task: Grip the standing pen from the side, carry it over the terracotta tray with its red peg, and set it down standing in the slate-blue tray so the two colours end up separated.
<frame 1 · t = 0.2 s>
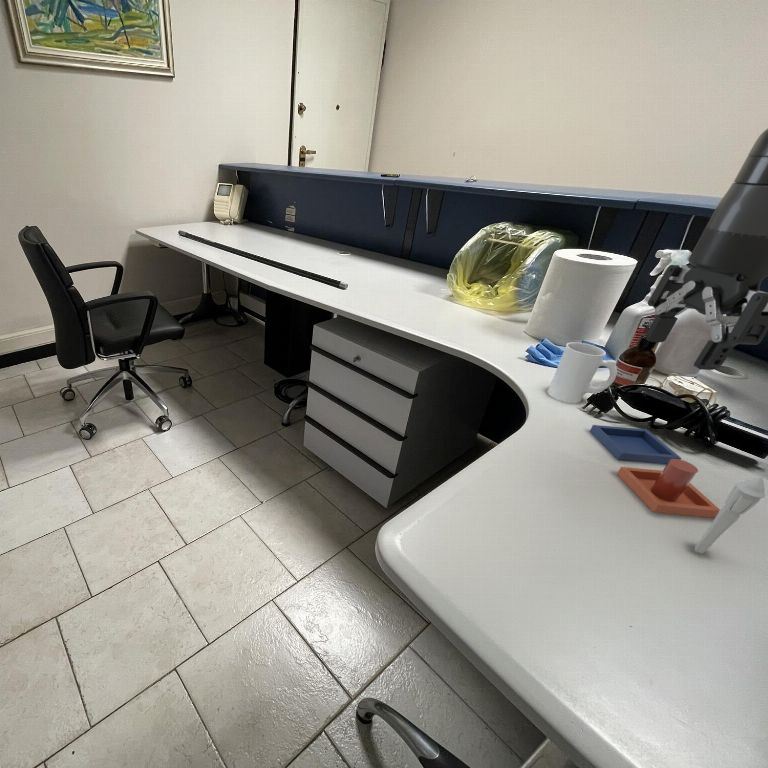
hand: (677, 353, 55), 24 cm above the table, tool pointing down, fingers open, 8 cm apart
terracotta tray: (661, 497, 65), on the table
mug: (571, 400, 91), on the table
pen: (696, 554, 56), on the table
blue tray: (629, 449, 75), on the table
red peg: (663, 494, 65), point 1 cm above the table, touching terracotta tray
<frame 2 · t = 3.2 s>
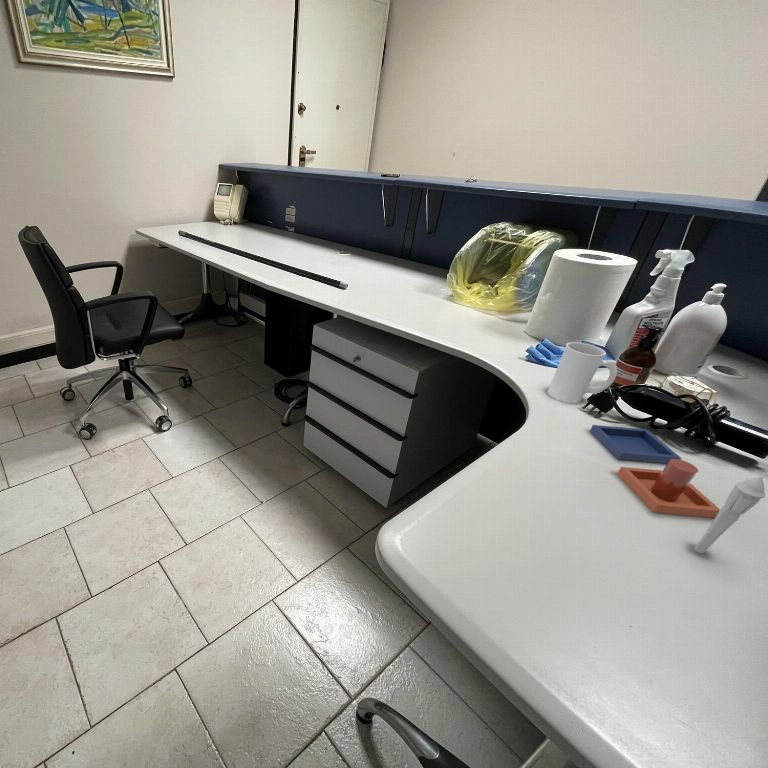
nothing on the table moved.
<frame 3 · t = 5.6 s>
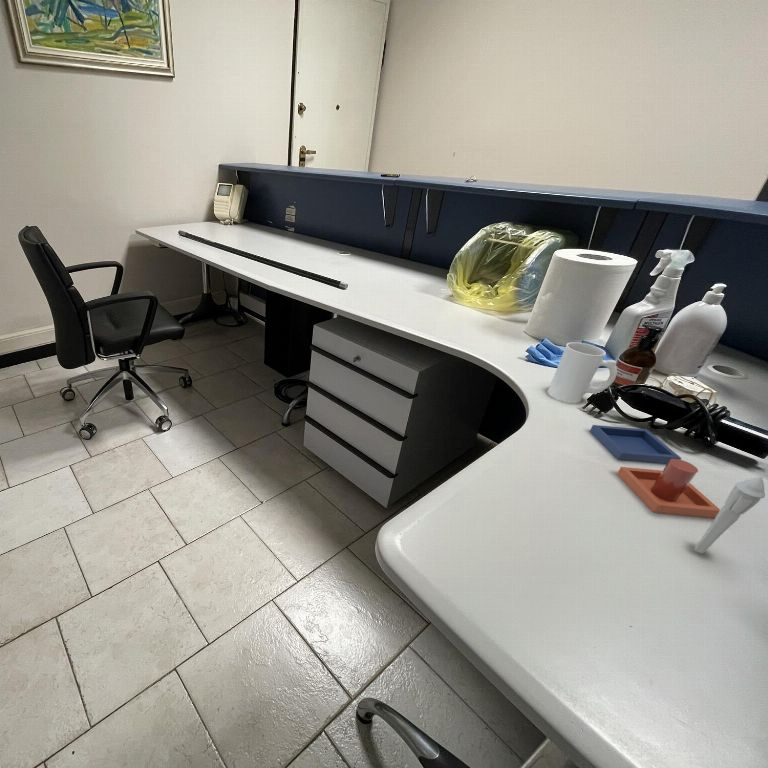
nothing on the table moved.
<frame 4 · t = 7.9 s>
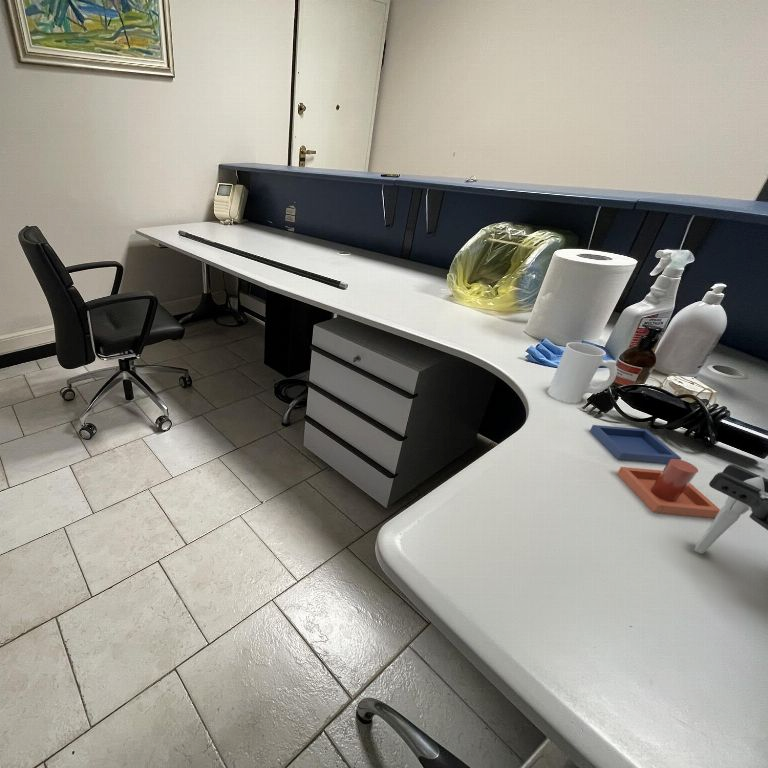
hand: (719, 474, 52), 12 cm above the table, tool horizontal, fingers closed on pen, 2 cm apart
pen: (696, 554, 56), on the table, touching gripper
everything else where it was.
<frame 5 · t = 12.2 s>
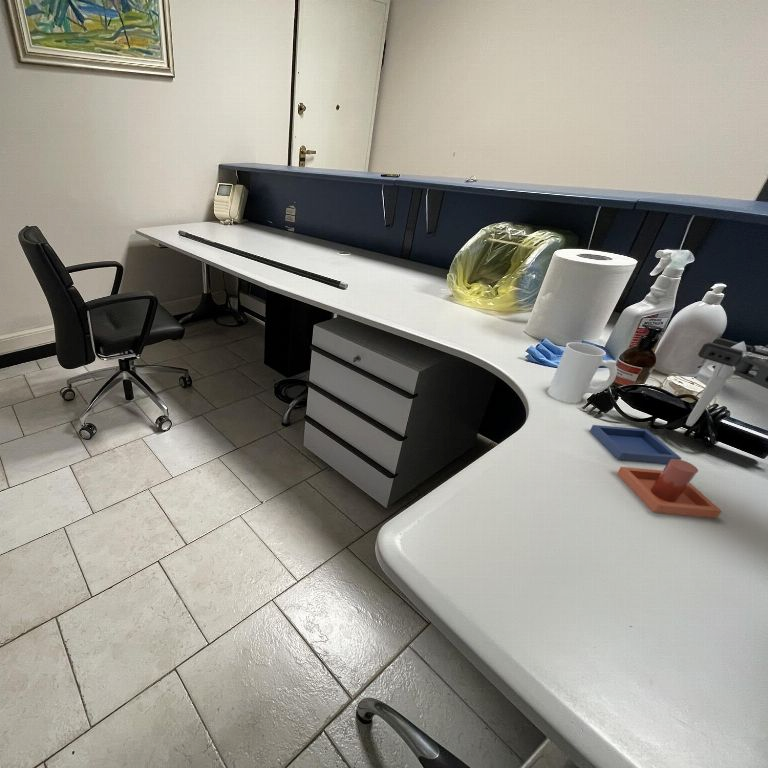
hand: (707, 346, 59), 24 cm above the table, tool horizontal, fingers closed on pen, 2 cm apart
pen: (688, 426, 62), point 11 cm above the table, touching gripper
everything else where it was.
when the fingers open (13 cm above the table, at t = 16.6 s): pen stays where it is, resting on blue tray.
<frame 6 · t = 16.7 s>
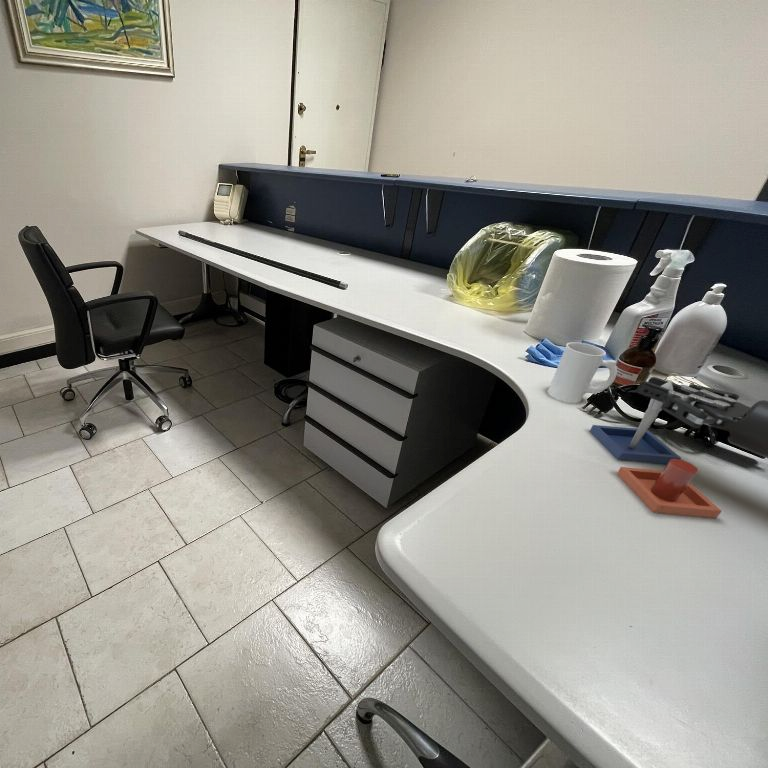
hand: (644, 384, 71), 13 cm above the table, tool horizontal, fingers open, 3 cm apart
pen: (631, 448, 75), resting on blue tray
everything else where it was.
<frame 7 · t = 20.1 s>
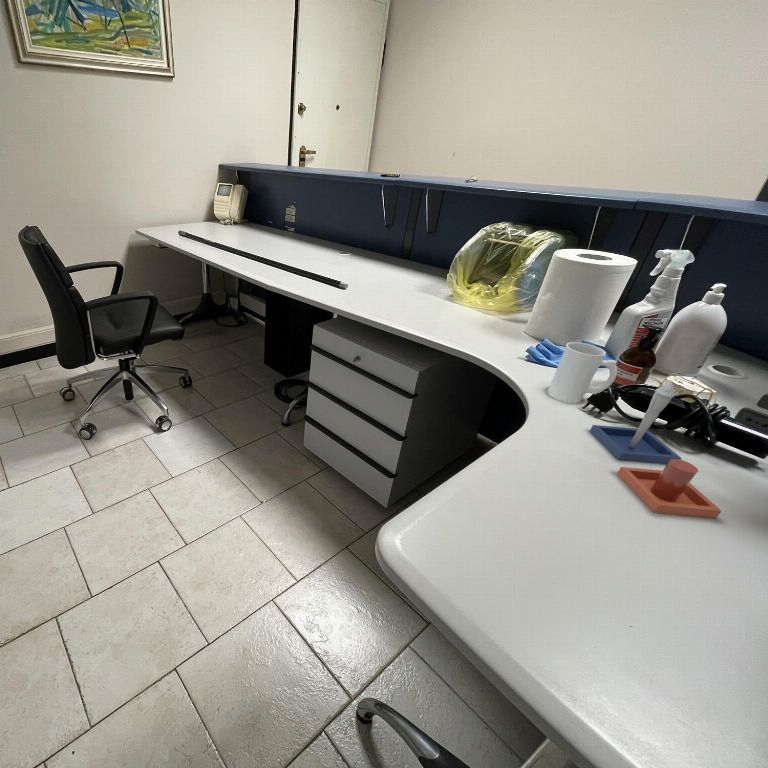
hand: (749, 405, 61), 15 cm above the table, tool horizontal, fingers open, 8 cm apart
nothing on the table moved.
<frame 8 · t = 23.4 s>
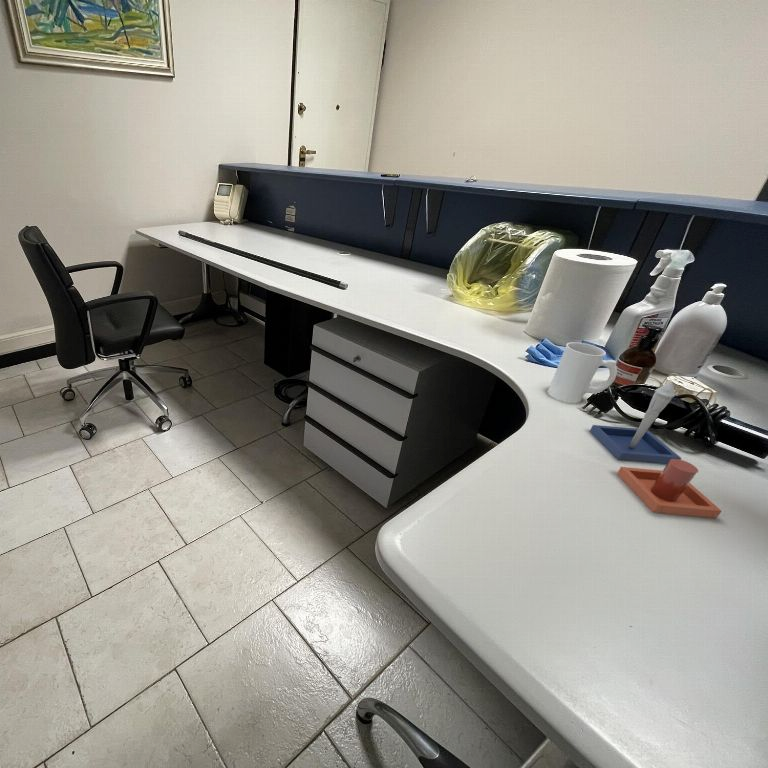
nothing on the table moved.
at the end: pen 0.2 cm off-centre in the blue tray, point 0.4 cm above the blue tray's base; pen tilted 0°; red peg moved 0.0 cm from its start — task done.
